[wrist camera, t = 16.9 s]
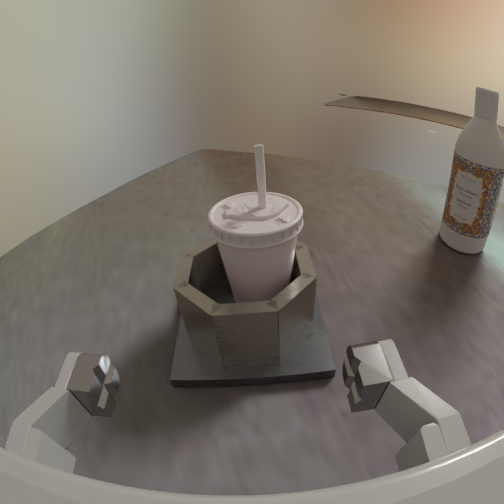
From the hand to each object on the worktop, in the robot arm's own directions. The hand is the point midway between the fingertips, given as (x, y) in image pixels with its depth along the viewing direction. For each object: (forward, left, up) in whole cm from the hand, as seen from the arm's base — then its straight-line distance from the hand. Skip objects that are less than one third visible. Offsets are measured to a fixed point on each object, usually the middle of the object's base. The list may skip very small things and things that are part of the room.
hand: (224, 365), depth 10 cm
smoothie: (+1, +12, -11) cm, 17 cm away
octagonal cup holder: (0, +12, -12) cm, 17 cm away
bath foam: (+28, +22, -12) cm, 38 cm away
